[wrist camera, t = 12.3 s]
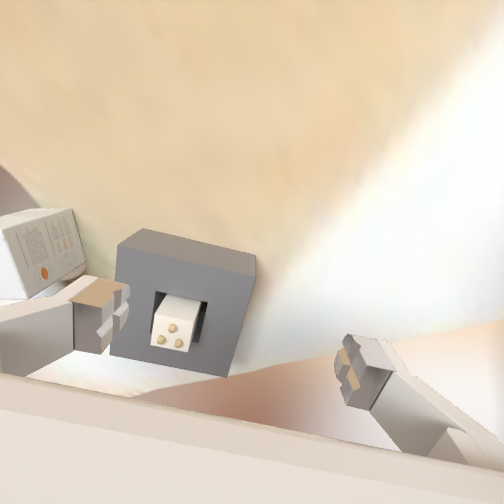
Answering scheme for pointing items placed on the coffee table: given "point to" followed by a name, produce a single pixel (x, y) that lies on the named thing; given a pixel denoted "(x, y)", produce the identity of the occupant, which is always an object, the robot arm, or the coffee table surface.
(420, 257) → the coffee table surface
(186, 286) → the socket block
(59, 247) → the small box
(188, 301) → the plug peg
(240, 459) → the robot arm
